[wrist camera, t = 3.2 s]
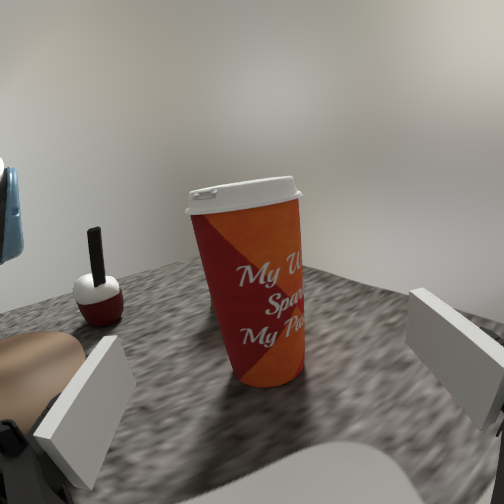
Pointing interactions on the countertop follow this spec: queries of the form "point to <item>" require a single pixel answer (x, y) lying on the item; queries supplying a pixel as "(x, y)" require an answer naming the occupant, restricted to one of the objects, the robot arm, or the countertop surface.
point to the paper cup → (254, 274)
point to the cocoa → (98, 288)
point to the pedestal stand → (35, 373)
